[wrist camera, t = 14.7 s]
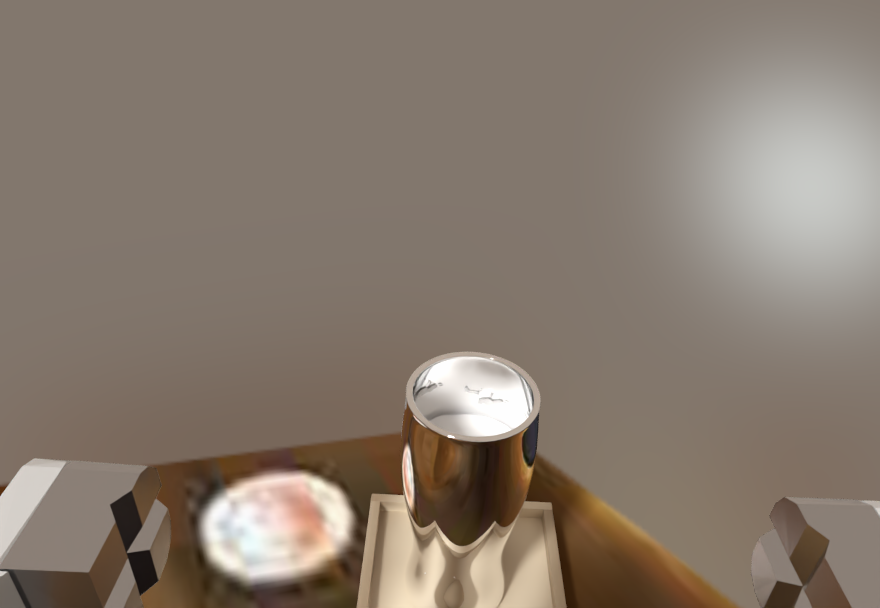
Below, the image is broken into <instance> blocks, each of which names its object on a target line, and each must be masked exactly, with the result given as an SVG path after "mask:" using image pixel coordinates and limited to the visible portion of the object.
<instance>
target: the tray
mask: <svg viewBox="0 0 880 608" xmlns="http://www.w3.org/2000/svg"><path fill="white" fill-rule="evenodd" d="M412 546H413V535H412V530H411V525H410V521H409V517H408V512H407V508H406V503H405V499H404V495H387V494H372V497H371V504H370V512H369V519H368V527H367V534H366V542H365V549H364V557H363V564H362V572H361V579H360V587H359V594H358V602H357V608H416V607H415V606H414V605H413V603H412V602H411V600H410V598H409V596H408V593H407V590H406V586H405V570H406V565H407V562H408V558H409V555H410V553H411V550H412ZM503 561H504V569H505V591H504V595H503V597H502V600H501V602H500V604H499V605H498V607H497V608H567V607H566V600H565V593H564V586H563V580H562V573H561V566H560V559H559V552H558V545H557V538H556V531H555V524H554V518H553V511H552V504H551V503H549V502H529V501H525V502H524V505H523V508H522V510H521V512H520V515H519V517H518V519H517V521H516V523H515V526H514V528H513V530H512V532H511V534H510V536H509V539H508V541H507V543H506V546H505V549H504V553H503Z"/></svg>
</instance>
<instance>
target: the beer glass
mask: <svg viewBox="0 0 880 608" xmlns="http://www.w3.org/2000/svg"><path fill="white" fill-rule="evenodd" d="M540 405H541V399H540V393H539V390H538V388H537V386H536V384H535V382H534V381H533V379H532V378H531V377H530V376H529V375H528V374H527V373H526V372H525V371H524V370H523V369H521V368H520V367H519V366H517V365H515V364H514V363H512V362H510V361H508V360H506V359H503V358H500V357H497V356H494V355H490V354H485V353H479V352H456V353H449V354H445V355H441V356H438V357H435V358H433V359H431V360H429V361H427V362H425V363H424V364H422V365H421V366H420V367H419V368H418V369H416V370H415V372H414V373H413V374H412V375H411V377H410V379H409V381H408V384H407V387H406V402H405V409H404V415H403V423H402V432H401V446H400V469H401V480H402V487H403V494H404V499H405V503H406V508H407V512H408V517H409V521H410V525H411V530H412V535H413V546H412V550H411V553H410V555H409V558H408V562H407V565H406V570H405V586H406V590H407V593H408V596H409V598H410V600H411V602H412V603H413V605H414V606H415V607H416V608H497V607H498V605H499V604H500V602H501V600H502V597H503V595H504V591H505V569H504V561H503V553H504V549H505V546H506V543H507V541H508V539H509V536H510V534H511V532H512V530H513V528H514V526H515V523H516V521H517V519H518V517H519V515H520V512H521V510H522V508H523V505H524V502H525V499H526V497H527V494H528V491H529V488H530V484H531V479H532V475H533V470H534V465H535V457H536V450H537V438H538V423H539V422H538V421H539V410H540Z"/></svg>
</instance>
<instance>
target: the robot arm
mask: <svg viewBox="0 0 880 608" xmlns="http://www.w3.org/2000/svg"><path fill="white" fill-rule="evenodd" d="M161 486H162V485H161V482H160V479H159V475H158V472H157V469H156V468H154V467H150V466H139V465H126V464H111V463H100V462H87V461H67V460H52V459H37V458H34V459H33V460H31V461H30V462H28V463H27V464H25V465H24V466H22V467H21V468H20V470H19V471H18V472H17V474H16V475H15V477H14V478H13V479H12V481H11V482H10V484H9V485H8V486H7V488H6V489H5V490H4V492H3V493H2V495H1V496H0V608H144V607H143V604H142V600H141V597H140V596H141V595H142V594H143V593H144V592H146V591H147V590H148V589H149V588H150V587H152V586H153V585H154V584H155V583H157V582H158V581H159V579H160V576H161V574H162V571H163V568H164V566H165V563H166V561H167V556H168V551H169V546H170V541H171V520H170V516H169V512H168V508H166V507H165V506H164V505H163V504H162V503H160V502H159V501H158V500H157V499H156V497H157V495H158V492H159V490H160V488H161ZM770 518H771V521H772V523H773V525H774V527H775V528H774V529H772V530H771V531H769V532H768V533H766V534H764V535H763V536H761V537H760V538H759V539H758V541H757V544H756V546H755V548H754V551H753V553H752V570H751V576H752V580H753V586H754V590H755V594H756V596H757V599H758V602H759V604H760V607H761V608H880V501H864V500H863V501H858V500H850V499H825V498H796V497H784V498H782V499H781V500H779V501H778V502H776V504H775V505H774V507H773V510H772V511H771V513H770Z"/></svg>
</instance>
